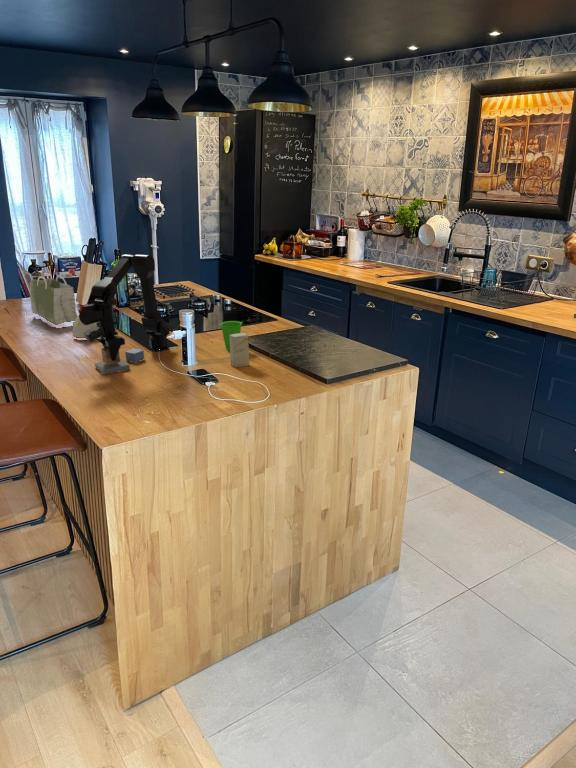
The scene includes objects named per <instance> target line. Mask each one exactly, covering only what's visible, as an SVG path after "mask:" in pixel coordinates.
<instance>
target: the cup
mask: <svg viewBox="0 0 576 768" xmlns="http://www.w3.org/2000/svg"><path fill="white" fill-rule="evenodd" d="M219 325H220V326H221V327H220V328H221V332H222V336H223V341H224V345H225V349H226V351H228V352H230V338H229V335H230V334H237V333H241V331H242V325H243V323H242V321H239V320H238V321H237V320H229V321H224V322H223V321H222V322H221V323H220V324H219Z"/></svg>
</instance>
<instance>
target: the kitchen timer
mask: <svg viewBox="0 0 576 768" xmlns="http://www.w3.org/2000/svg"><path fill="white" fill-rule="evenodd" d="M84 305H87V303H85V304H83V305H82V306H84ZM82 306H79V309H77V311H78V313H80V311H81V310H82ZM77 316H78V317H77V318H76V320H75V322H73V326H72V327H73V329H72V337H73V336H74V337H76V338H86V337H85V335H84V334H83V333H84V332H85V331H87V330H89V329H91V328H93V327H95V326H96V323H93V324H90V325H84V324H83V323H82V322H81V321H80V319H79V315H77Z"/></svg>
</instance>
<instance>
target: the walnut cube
mask: <svg viewBox="0 0 576 768" xmlns="http://www.w3.org/2000/svg"><path fill="white" fill-rule="evenodd" d="M100 349H101V356H102V362H105V363H106V364H107V365H108V364H113V363H118V362H120V358H121V357H120V350H119V351H118V354H117V357H116V360H115V361H112V359H111V355H110V352H109V349H108V348H104V347H101V348H100Z"/></svg>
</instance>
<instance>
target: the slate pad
mask: <svg viewBox="0 0 576 768" xmlns="http://www.w3.org/2000/svg"><path fill="white" fill-rule="evenodd" d="M130 366H131V365H130V364H129V363H128V362H127V361H125V360H123V358H121V357H120V362H118V363H113V364H108V365H107V364H106V363H105V362H103V361H99V362H95V363H94V368H95V367H96V368H97V369H98V370H99V371H100V372H99V371H98V370H97V369H96V368H95V369H96V370H97V371H98V372H99V373H100V374H102V373H103V374H107V375H109V374H108V373H111V374H114V373H113V372H116V373H119V372H118V371H121V372H125V371H124V370H126V371H130V370H131V369H130V368H131V367H130ZM103 374H102V375H103Z"/></svg>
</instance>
